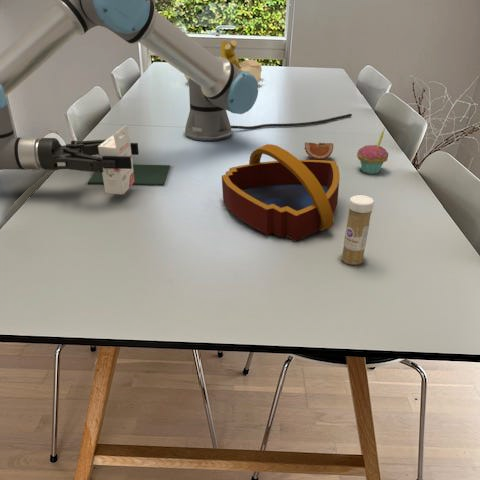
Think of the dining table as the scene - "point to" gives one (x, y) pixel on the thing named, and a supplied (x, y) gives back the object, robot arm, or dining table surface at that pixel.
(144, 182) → the mat
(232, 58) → the campfire
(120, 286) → the dining table surface
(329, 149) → the fruit slice
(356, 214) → the sprinkles bottle
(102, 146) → the ink cartridge box
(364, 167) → the cupcake
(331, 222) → the decorative basket
